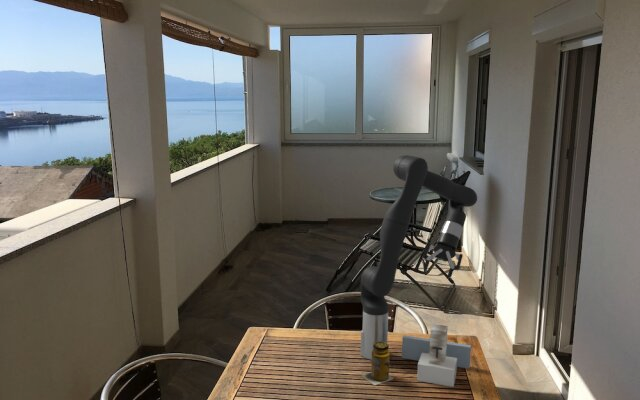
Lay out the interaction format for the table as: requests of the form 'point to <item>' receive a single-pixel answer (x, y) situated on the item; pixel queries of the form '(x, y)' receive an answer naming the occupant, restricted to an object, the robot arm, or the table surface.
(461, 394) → the table surface
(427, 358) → the plinth
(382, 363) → the condiment
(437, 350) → the lettered block
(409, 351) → the screen
